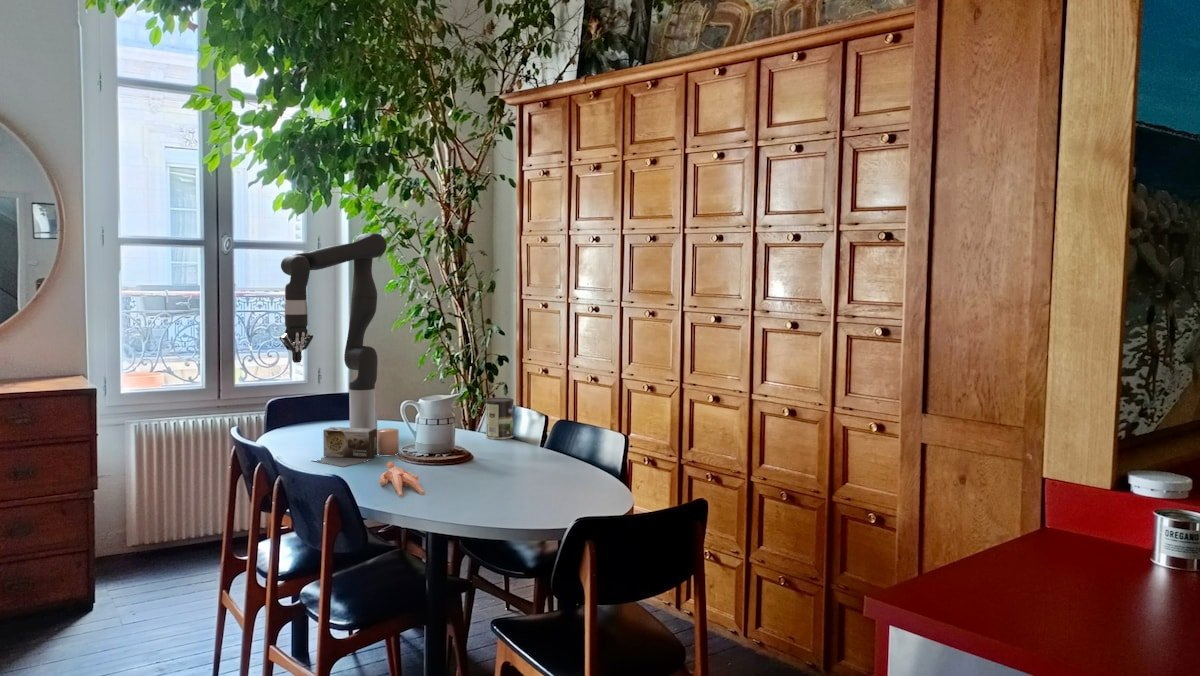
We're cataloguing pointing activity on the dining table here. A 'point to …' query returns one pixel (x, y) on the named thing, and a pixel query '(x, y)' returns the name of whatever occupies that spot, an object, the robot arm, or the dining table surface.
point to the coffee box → (350, 442)
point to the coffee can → (499, 418)
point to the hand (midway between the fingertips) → (297, 362)
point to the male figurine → (400, 479)
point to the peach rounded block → (387, 441)
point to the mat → (341, 461)
